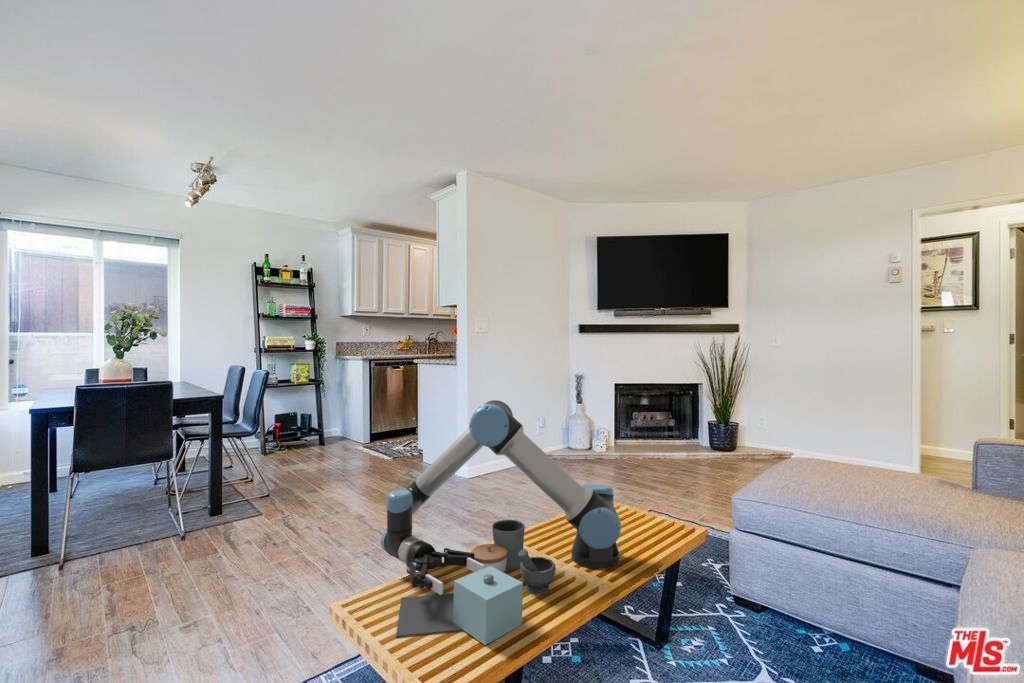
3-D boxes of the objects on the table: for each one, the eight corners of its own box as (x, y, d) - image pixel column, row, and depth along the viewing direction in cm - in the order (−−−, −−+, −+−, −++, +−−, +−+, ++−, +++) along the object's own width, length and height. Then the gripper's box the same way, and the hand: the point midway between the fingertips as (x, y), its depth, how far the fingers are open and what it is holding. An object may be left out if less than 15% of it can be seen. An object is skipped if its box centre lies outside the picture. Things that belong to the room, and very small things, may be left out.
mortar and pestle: (541, 577, 135) (541, 536, 136) (562, 591, 128) (562, 547, 128) (509, 588, 129) (509, 545, 129) (529, 603, 121) (529, 557, 122)
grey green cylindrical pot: (530, 561, 146) (530, 523, 146) (513, 574, 137) (513, 533, 138) (503, 554, 151) (504, 517, 152) (485, 566, 143) (485, 526, 143)
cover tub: (489, 604, 120) (490, 561, 121) (521, 624, 112) (523, 577, 112) (452, 622, 112) (454, 575, 112) (485, 645, 104) (486, 594, 104)
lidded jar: (474, 589, 129) (474, 555, 129) (467, 572, 139) (467, 540, 139) (511, 584, 132) (511, 551, 132) (502, 567, 142) (502, 536, 142)
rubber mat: (464, 593, 127) (464, 591, 127) (469, 630, 110) (469, 628, 110) (401, 599, 124) (401, 597, 124) (396, 637, 107) (396, 635, 107)
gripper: (451, 553, 143) (498, 577, 128) (377, 582, 125) (422, 613, 110) (451, 529, 143) (498, 549, 128) (378, 554, 125) (422, 581, 110)
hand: (463, 579), depth 119 cm, fingers open, 13 cm apart
